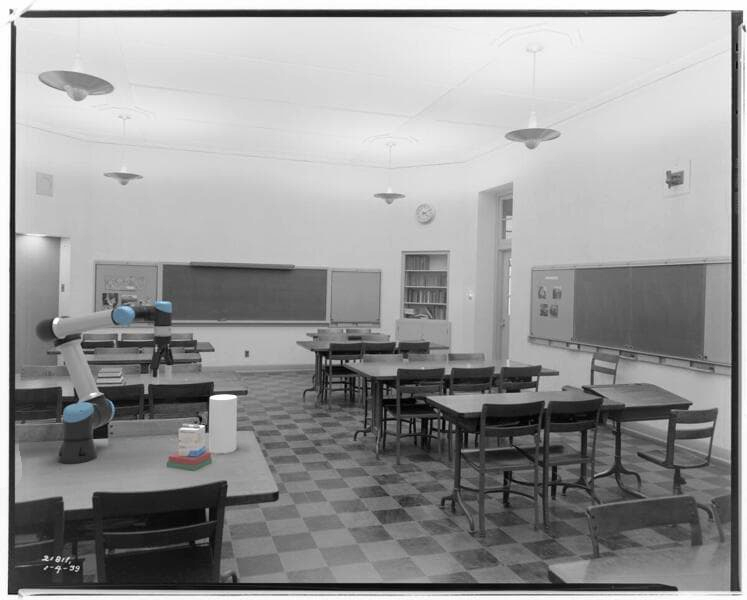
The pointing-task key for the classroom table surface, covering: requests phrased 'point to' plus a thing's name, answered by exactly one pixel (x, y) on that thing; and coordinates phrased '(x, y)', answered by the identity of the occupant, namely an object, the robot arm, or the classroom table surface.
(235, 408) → the cylinder
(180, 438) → the ink box
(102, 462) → the classroom table surface
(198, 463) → the book stack
